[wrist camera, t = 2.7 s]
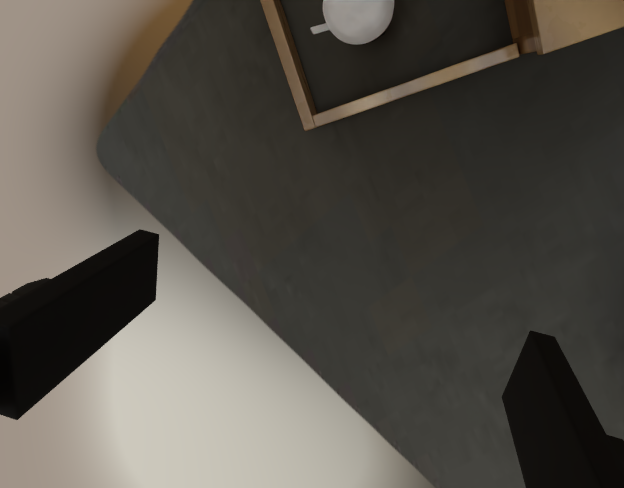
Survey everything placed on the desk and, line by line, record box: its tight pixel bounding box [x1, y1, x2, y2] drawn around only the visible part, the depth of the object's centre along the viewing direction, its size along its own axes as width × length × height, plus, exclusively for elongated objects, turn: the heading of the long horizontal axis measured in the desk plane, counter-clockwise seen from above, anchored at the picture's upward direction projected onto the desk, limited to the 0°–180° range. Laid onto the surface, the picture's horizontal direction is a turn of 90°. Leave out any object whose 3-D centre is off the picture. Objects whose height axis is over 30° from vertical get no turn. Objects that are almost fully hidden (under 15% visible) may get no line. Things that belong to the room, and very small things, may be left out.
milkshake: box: [310, 0, 394, 45], centre depth 32 cm, size 5×5×10 cm
